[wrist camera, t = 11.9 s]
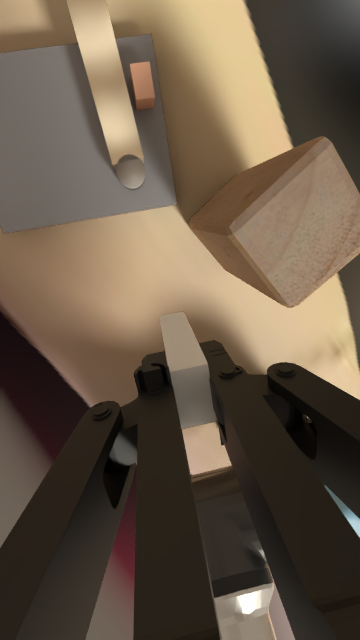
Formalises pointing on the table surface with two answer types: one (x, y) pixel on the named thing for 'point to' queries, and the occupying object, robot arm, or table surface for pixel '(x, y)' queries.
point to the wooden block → (285, 222)
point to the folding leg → (109, 88)
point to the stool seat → (74, 138)
